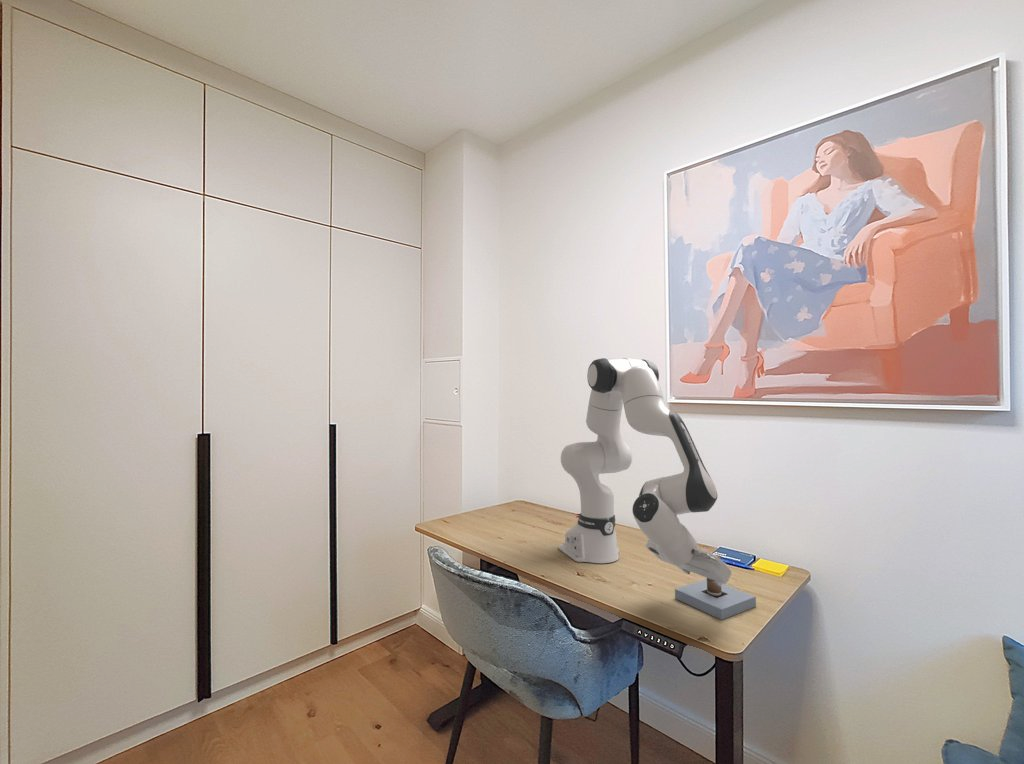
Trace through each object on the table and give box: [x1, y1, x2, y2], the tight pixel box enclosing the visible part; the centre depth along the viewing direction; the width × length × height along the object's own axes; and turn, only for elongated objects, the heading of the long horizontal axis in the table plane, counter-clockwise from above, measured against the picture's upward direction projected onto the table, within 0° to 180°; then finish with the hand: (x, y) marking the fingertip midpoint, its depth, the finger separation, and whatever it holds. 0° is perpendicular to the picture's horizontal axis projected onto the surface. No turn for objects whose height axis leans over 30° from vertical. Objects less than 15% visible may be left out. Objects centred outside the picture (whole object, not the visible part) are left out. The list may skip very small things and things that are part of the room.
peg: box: [706, 553, 722, 598], centre depth 122 cm, size 4×4×12 cm
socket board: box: [674, 578, 757, 621], centre depth 122 cm, size 14×14×2 cm
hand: (703, 577), depth 120 cm, fingers open, 8 cm apart
